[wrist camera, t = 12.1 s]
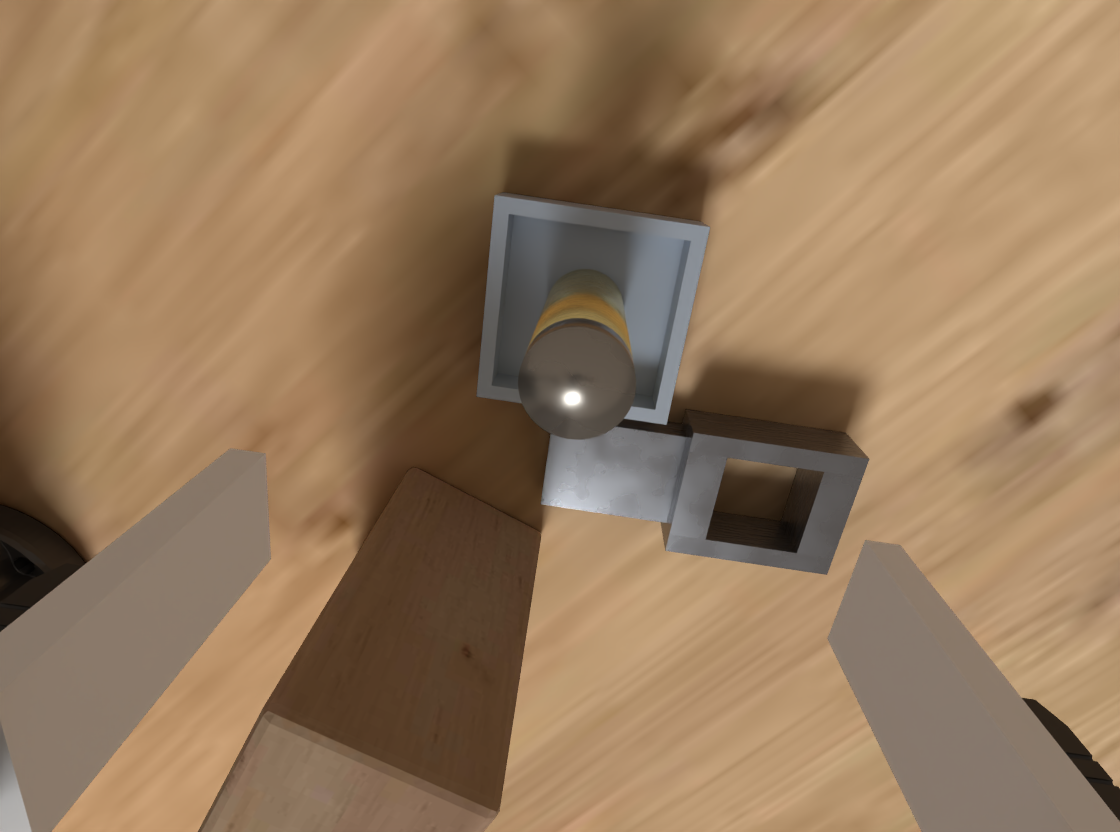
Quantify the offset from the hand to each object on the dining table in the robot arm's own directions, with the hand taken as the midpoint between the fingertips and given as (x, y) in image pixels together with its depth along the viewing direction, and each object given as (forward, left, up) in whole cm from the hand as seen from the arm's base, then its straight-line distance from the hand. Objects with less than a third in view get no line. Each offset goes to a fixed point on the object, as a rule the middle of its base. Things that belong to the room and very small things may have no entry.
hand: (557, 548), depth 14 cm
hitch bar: (+8, -9, -25) cm, 28 cm away
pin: (0, 0, -24) cm, 24 cm away
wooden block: (-7, -18, -25) cm, 32 cm away
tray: (0, 0, -25) cm, 25 cm away
